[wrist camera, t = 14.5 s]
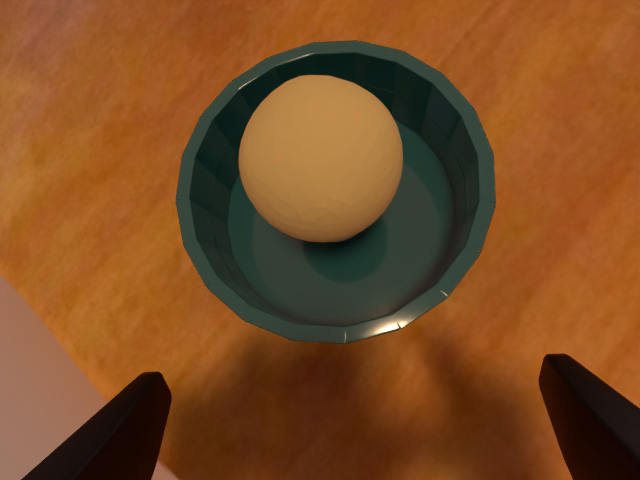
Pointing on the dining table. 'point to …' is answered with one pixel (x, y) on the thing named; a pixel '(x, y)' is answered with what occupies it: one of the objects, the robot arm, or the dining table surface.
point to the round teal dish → (367, 246)
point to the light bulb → (321, 158)
